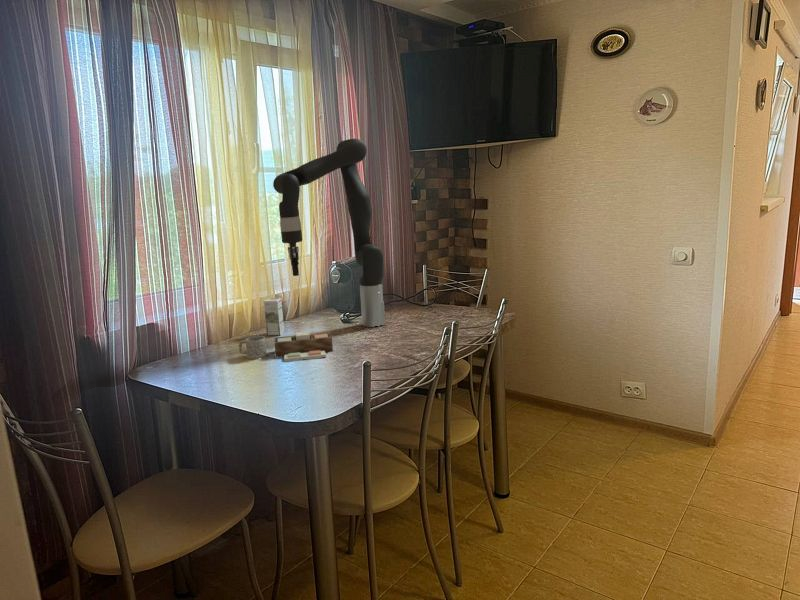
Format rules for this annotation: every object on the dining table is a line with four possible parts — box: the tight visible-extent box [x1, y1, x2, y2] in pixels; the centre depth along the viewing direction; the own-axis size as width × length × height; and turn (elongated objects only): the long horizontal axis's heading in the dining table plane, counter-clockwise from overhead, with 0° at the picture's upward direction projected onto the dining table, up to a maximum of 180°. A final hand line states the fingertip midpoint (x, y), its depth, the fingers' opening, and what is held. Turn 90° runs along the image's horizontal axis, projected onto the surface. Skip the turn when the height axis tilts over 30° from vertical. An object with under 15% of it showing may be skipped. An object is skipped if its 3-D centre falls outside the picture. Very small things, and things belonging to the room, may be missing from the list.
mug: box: [238, 335, 267, 360], centre depth 202 cm, size 10×7×7 cm
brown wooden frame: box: [274, 331, 334, 358], centre depth 205 cm, size 20×8×5 cm, turn 102°
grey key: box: [295, 330, 311, 340], centre depth 205 cm, size 5×5×2 cm
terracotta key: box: [314, 334, 328, 339], centre depth 206 cm, size 5×5×2 cm
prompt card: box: [283, 350, 327, 362], centre depth 198 cm, size 14×5×2 cm, turn 102°
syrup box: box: [263, 297, 285, 337], centre depth 230 cm, size 6×6×14 cm
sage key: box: [278, 337, 292, 342], centre depth 204 cm, size 5×5×2 cm
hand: (296, 275), depth 215 cm, fingers closed
